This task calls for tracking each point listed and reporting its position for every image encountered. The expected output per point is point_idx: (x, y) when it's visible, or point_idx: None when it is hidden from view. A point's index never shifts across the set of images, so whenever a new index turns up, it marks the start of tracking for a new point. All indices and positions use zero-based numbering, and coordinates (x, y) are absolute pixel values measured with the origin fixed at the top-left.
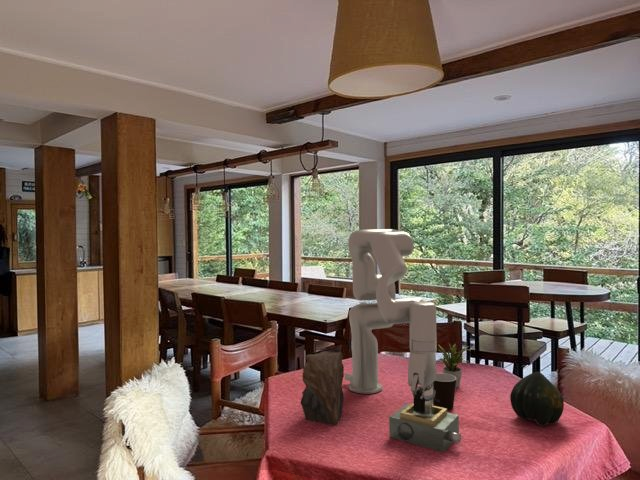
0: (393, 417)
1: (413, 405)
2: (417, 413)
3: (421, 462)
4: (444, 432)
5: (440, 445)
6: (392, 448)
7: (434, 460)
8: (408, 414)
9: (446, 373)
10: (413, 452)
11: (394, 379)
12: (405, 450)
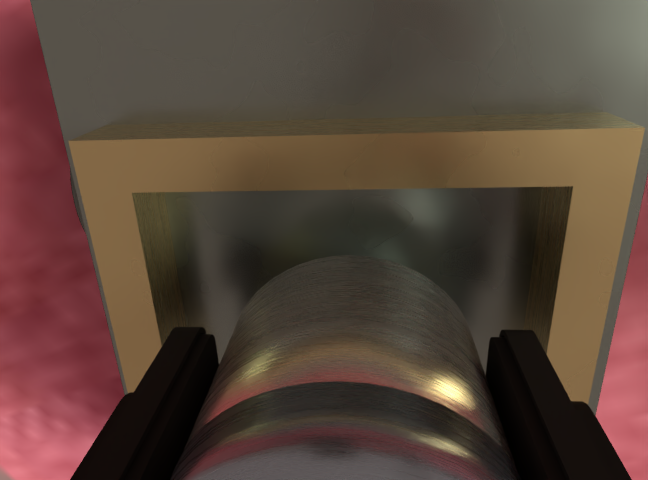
0: (46, 38)
1: (447, 185)
2: (371, 245)
3: (14, 353)
4: None
5: None
6: (9, 115)
7: (92, 400)
8: (99, 265)
9: None
10: (79, 268)
11: None
12: (60, 211)
